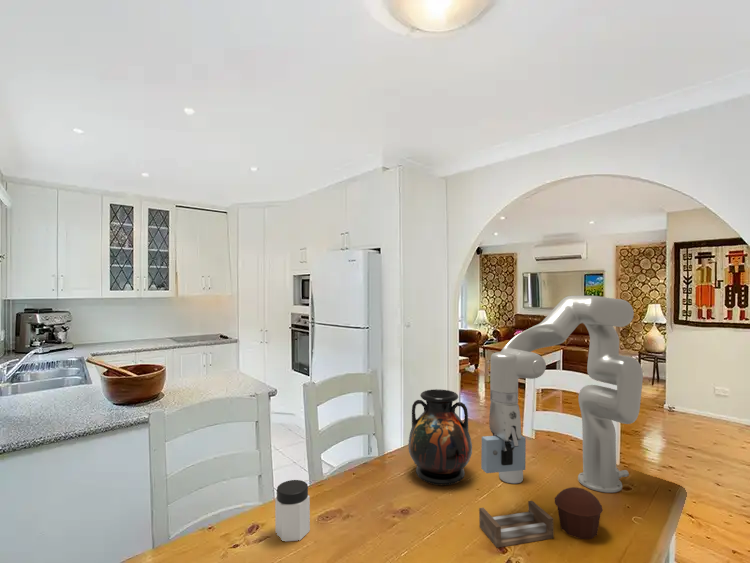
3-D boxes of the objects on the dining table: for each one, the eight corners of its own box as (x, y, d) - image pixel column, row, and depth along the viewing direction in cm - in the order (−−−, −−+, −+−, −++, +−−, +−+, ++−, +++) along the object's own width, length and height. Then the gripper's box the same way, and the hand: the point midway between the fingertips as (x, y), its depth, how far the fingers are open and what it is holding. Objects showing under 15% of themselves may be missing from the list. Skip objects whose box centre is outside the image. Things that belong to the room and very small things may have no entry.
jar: (310, 522, 113) (310, 478, 113) (308, 540, 104) (308, 493, 105) (277, 524, 112) (277, 480, 112) (273, 543, 104) (272, 495, 104)
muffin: (575, 546, 101) (575, 505, 101) (545, 521, 112) (544, 484, 112) (613, 537, 105) (613, 498, 105) (580, 514, 115) (580, 478, 115)
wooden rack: (532, 518, 113) (532, 500, 113) (553, 538, 104) (553, 518, 104) (479, 526, 110) (479, 508, 110) (496, 547, 101) (496, 527, 101)
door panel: (519, 465, 118) (519, 434, 118) (526, 470, 115) (526, 438, 115) (481, 468, 116) (481, 436, 116) (487, 473, 112) (487, 440, 113)
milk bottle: (524, 485, 132) (523, 423, 132) (500, 483, 134) (499, 422, 134) (521, 474, 140) (520, 415, 140) (497, 472, 141) (496, 414, 141)
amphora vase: (403, 487, 132) (402, 400, 132) (413, 459, 153) (412, 384, 153) (472, 494, 127) (471, 404, 127) (472, 465, 147) (471, 387, 148)
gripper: (532, 403, 109) (532, 473, 108) (501, 389, 125) (500, 450, 124) (507, 405, 107) (506, 475, 107) (478, 390, 123) (477, 451, 123)
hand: (503, 461), depth 115 cm, fingers closed on door panel, 3 cm apart
